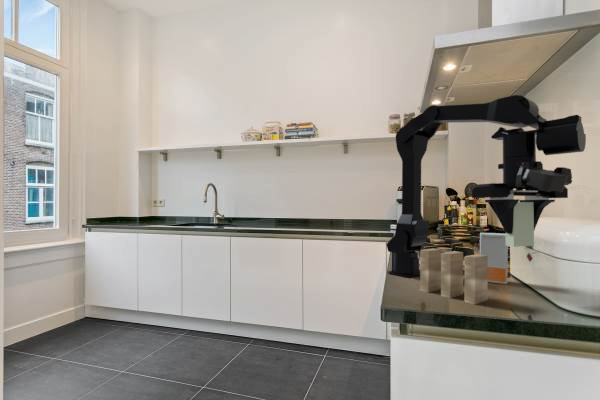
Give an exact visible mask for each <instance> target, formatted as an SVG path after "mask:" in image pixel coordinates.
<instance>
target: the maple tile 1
mask: <svg viewBox="0 0 600 400" xmlns="http://www.w3.org/2000/svg"><path fill="white" fill-rule="evenodd" d="M441 253H442V249H441V248H433V247H432V248H425V249H421V250H420V251H419V254H420V255H419V257H420V258H419V272H420V277H419V280H420V281H419V291H421V292H424V293H431V292H436V291H439V290H440V291H441Z"/></svg>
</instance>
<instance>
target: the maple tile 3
mask: <svg viewBox="0 0 600 400" xmlns="http://www.w3.org/2000/svg"><path fill="white" fill-rule="evenodd" d="M487 269H488V256H487V255H480V253H479V254H477V253H476V254H472V255H465V256H464V291H463V295H464V302H465V303H467V304H471V305H478V304H481V303H484V302H486V301H488V282H487Z"/></svg>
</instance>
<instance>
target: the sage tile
mask: <svg viewBox="0 0 600 400" xmlns="http://www.w3.org/2000/svg"><path fill="white" fill-rule="evenodd" d="M505 234H506V246H508V247H515V248H516V247H517V248H518V247H535V230H534V202H520V201H518V203H517V204H516V205H515V207H514V216H513V230H512V234H507V233H506V232H505Z"/></svg>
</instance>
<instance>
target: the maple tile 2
mask: <svg viewBox="0 0 600 400" xmlns="http://www.w3.org/2000/svg"><path fill="white" fill-rule="evenodd" d="M463 295H464V252H463V251H458V250H457V251H454V250H453V251H446V252H441V289H440V297H444V298H447V299H452V298H456V297H460V296H463Z"/></svg>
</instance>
